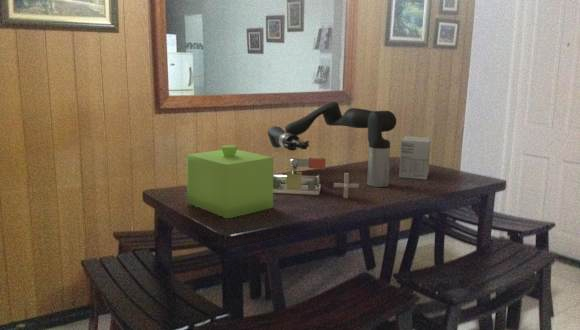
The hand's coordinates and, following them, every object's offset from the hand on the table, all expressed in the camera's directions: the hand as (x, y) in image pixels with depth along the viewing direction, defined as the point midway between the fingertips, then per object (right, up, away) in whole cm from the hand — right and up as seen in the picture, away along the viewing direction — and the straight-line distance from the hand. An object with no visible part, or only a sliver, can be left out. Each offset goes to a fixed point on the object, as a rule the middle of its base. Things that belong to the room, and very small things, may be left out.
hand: (304, 146), depth 223 cm
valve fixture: (-5, -19, -7) cm, 20 cm away
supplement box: (+55, -13, +26) cm, 62 cm away
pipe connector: (+16, -21, -17) cm, 32 cm away
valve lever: (+1, -9, -9) cm, 13 cm away
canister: (-29, -24, -31) cm, 49 cm away
